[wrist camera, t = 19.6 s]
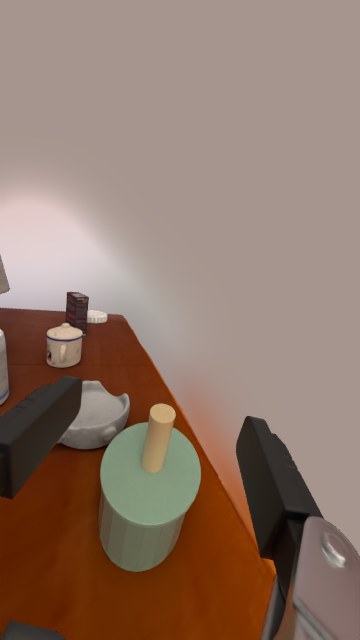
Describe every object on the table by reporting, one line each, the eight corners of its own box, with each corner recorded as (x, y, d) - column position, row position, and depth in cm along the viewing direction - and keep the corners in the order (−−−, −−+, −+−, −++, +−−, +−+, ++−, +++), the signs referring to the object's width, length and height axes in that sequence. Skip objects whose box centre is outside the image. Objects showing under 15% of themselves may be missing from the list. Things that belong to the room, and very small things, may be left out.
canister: (82, 504, 26) (86, 457, 23) (148, 453, 34) (156, 415, 32) (131, 609, 19) (143, 555, 17) (198, 512, 27) (212, 468, 25)
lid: (81, 460, 23) (85, 402, 21) (156, 415, 33) (164, 372, 31) (142, 573, 16) (159, 502, 14) (217, 473, 25) (234, 421, 23)
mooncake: (111, 319, 101) (111, 313, 100) (98, 325, 89) (99, 318, 88) (90, 314, 102) (90, 308, 101) (75, 319, 90) (75, 312, 89)
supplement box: (86, 335, 76) (89, 297, 72) (73, 337, 72) (76, 297, 68) (77, 328, 81) (79, 292, 77) (64, 330, 77) (66, 291, 73)
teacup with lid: (48, 353, 59) (49, 317, 56) (81, 353, 63) (83, 319, 60) (40, 375, 48) (40, 333, 45) (80, 373, 52) (83, 334, 49)
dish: (77, 393, 45) (78, 375, 44) (134, 404, 45) (137, 386, 44) (28, 449, 31) (28, 425, 30) (112, 464, 31) (116, 440, 30)
